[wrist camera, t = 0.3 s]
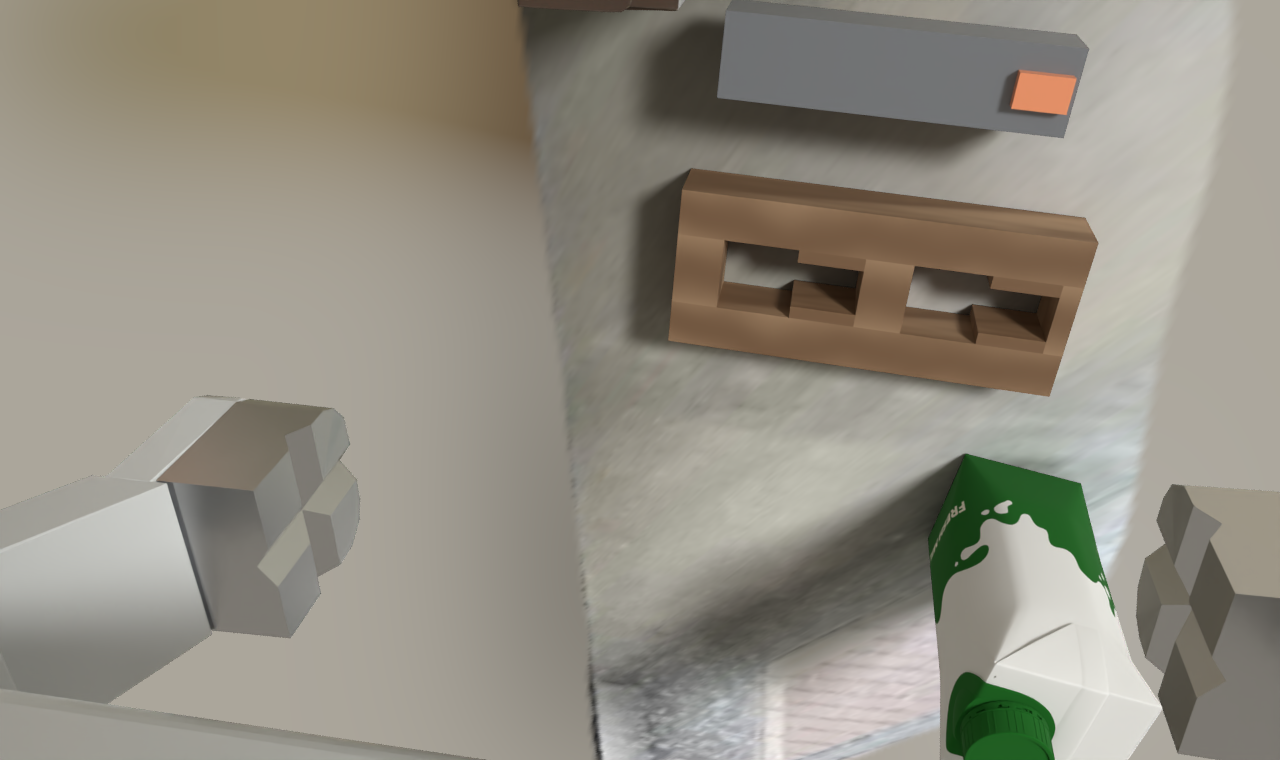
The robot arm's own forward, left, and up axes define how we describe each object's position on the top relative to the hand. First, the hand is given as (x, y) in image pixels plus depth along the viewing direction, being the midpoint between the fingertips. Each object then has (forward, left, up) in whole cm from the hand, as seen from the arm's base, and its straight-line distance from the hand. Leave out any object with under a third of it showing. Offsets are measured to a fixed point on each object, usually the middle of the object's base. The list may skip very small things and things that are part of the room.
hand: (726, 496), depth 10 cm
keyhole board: (+17, +5, -46) cm, 49 cm away
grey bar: (+5, +4, -46) cm, 46 cm away
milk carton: (+32, +16, -46) cm, 58 cm away
